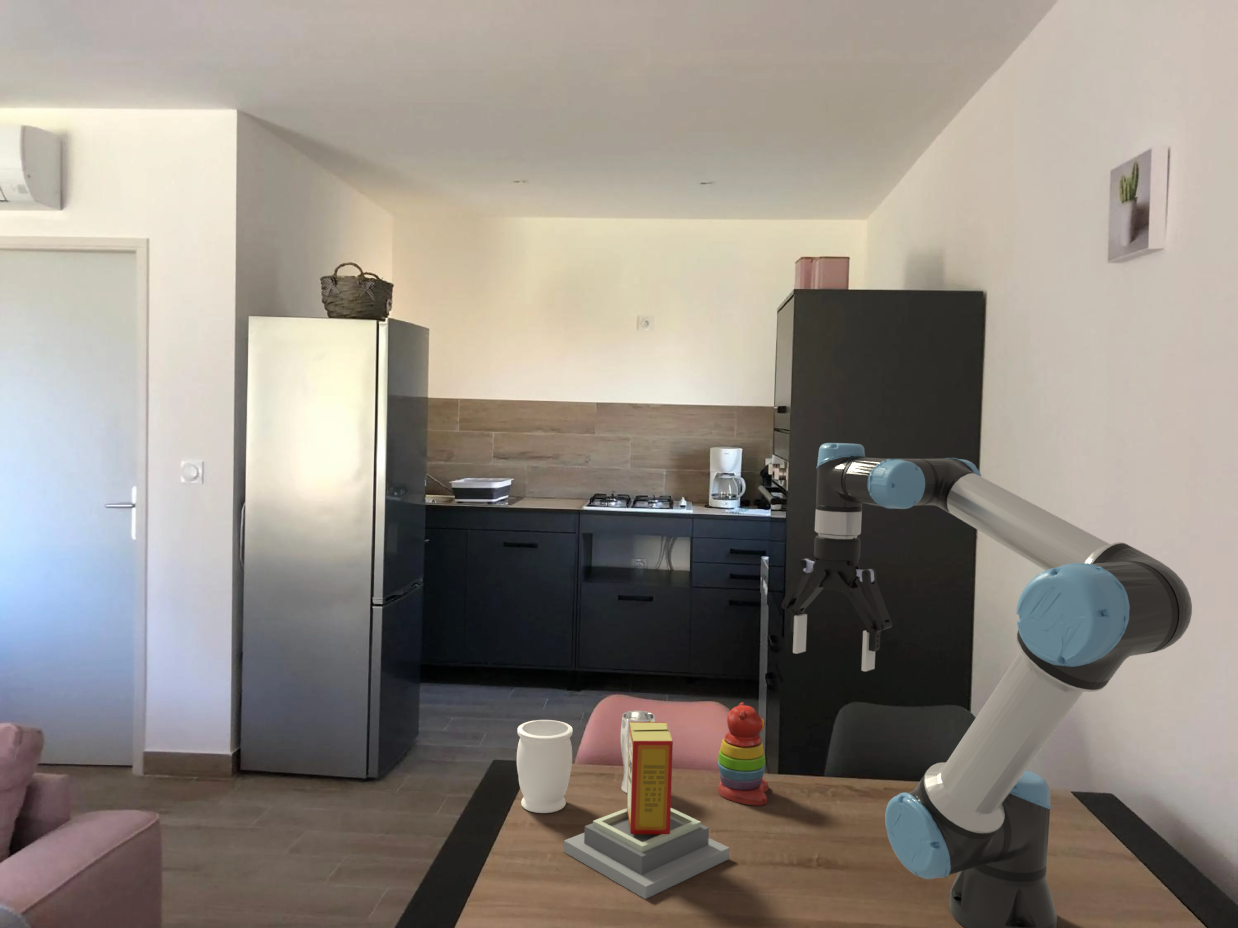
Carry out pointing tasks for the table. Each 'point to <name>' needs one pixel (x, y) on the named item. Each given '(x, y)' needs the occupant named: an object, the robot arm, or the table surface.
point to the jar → (544, 764)
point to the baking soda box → (649, 778)
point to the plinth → (651, 877)
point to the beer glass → (626, 718)
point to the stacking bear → (743, 758)
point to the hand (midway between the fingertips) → (832, 660)
